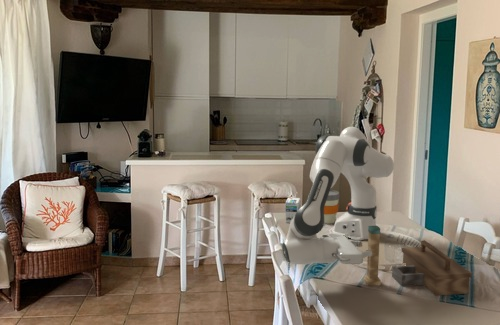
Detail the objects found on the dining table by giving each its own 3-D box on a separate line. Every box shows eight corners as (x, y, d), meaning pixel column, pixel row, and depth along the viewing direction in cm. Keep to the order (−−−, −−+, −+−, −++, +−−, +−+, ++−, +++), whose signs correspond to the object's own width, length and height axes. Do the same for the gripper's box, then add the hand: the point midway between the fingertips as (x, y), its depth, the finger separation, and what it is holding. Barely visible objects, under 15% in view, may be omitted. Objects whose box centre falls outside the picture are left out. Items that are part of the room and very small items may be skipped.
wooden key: (368, 285, 177) (370, 229, 174) (364, 280, 182) (366, 225, 178) (380, 285, 178) (382, 228, 174) (375, 279, 182) (378, 224, 178)
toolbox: (413, 297, 168) (415, 265, 166) (382, 267, 194) (383, 238, 192) (470, 293, 170) (473, 262, 168) (432, 264, 197) (433, 236, 195)
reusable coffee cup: (313, 217, 261) (313, 189, 258) (337, 217, 261) (337, 189, 258) (315, 224, 249) (315, 195, 246) (340, 224, 248) (341, 195, 246)
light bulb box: (298, 223, 251) (298, 202, 249) (285, 222, 252) (285, 202, 250) (300, 217, 261) (300, 197, 259) (287, 216, 262) (287, 197, 260)
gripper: (337, 252, 164) (377, 249, 166) (321, 232, 184) (356, 231, 186) (337, 270, 165) (377, 267, 167) (320, 249, 185) (356, 247, 187)
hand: (366, 248), depth 177 cm, fingers open, 8 cm apart
